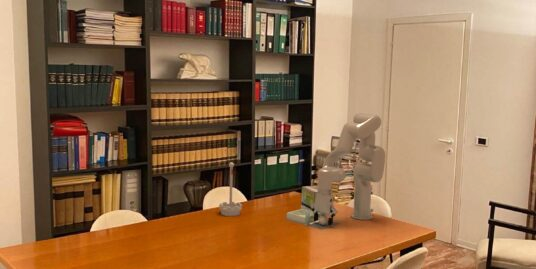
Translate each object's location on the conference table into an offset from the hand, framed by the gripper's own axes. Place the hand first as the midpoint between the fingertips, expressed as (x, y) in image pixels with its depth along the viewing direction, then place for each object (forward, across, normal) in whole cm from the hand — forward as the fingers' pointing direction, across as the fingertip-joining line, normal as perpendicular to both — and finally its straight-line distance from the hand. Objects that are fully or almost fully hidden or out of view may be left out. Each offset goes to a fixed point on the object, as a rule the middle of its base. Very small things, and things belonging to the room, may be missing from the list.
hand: (323, 222), depth 282 cm
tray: (+1, +14, -1) cm, 15 cm away
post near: (+2, +6, +6) cm, 9 cm away
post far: (+2, +6, -8) cm, 10 cm away
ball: (+1, 0, 0) cm, 1 cm away
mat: (+2, +8, -1) cm, 9 cm away
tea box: (+2, +19, -16) cm, 25 cm away
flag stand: (+2, +51, +21) cm, 55 cm away
